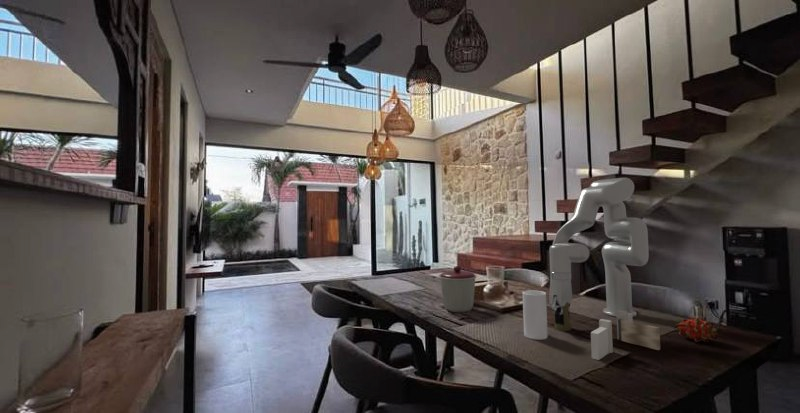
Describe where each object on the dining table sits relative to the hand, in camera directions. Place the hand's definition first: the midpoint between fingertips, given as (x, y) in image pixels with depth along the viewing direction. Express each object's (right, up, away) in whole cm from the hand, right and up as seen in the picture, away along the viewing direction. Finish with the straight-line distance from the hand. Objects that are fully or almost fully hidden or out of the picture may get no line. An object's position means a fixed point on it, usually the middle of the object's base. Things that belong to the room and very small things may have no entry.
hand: (562, 322), depth 135 cm
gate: (+17, -1, -19) cm, 25 cm away
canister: (-36, -4, +30) cm, 47 cm away
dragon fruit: (+39, -1, -16) cm, 42 cm away
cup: (-13, -3, -7) cm, 16 cm away
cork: (0, -2, 0) cm, 2 cm away
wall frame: (+8, -2, -19) cm, 21 cm away
